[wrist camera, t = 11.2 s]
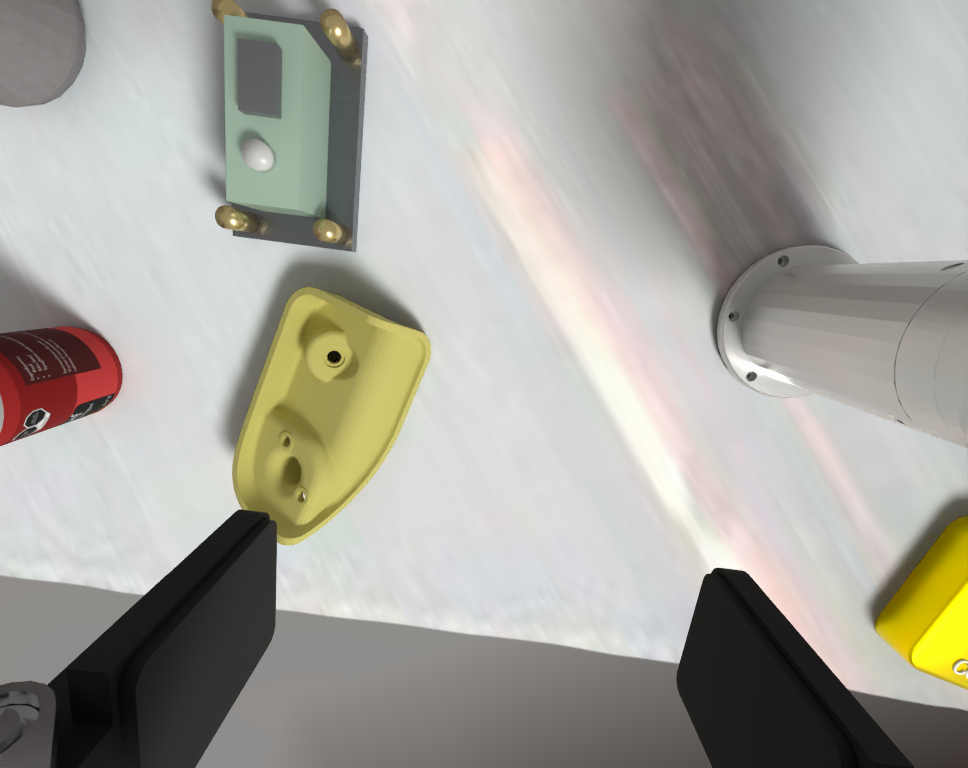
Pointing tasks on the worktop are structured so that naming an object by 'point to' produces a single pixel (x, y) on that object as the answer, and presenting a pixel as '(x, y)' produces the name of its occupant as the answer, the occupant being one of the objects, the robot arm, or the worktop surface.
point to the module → (276, 117)
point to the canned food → (53, 379)
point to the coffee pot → (39, 50)
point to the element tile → (934, 610)
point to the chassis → (343, 142)
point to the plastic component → (324, 410)
